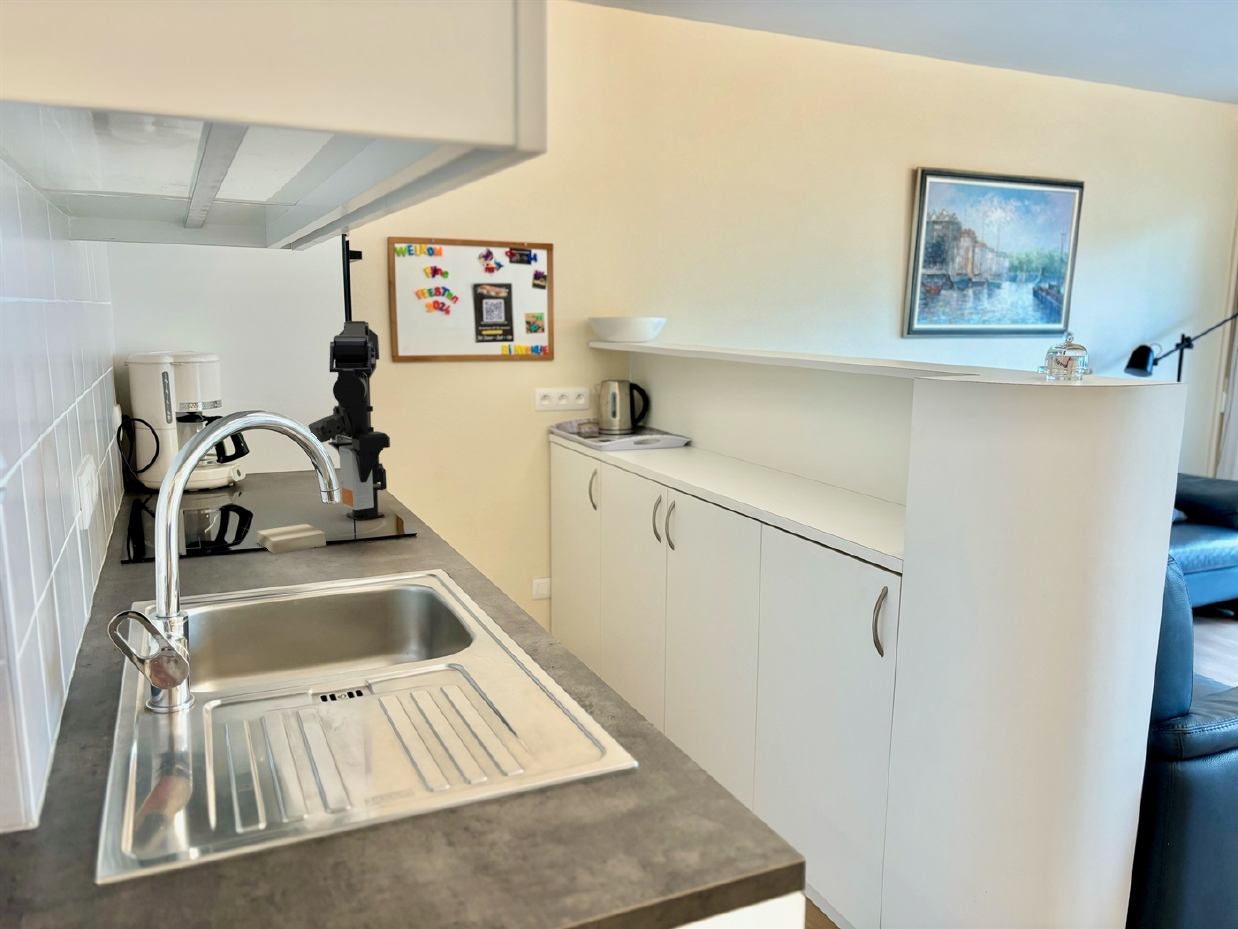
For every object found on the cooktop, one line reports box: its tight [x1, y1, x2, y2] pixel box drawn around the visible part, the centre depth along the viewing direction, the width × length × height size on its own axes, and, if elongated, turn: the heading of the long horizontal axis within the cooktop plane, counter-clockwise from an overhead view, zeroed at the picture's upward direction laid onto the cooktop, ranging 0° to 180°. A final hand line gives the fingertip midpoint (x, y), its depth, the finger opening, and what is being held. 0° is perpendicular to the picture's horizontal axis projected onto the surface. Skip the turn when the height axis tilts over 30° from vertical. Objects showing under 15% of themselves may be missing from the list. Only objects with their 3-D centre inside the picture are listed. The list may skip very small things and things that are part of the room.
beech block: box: [255, 523, 327, 555], centre depth 178 cm, size 10×10×3 cm
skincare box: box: [338, 445, 374, 510], centre depth 177 cm, size 6×4×12 cm
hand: (356, 479), depth 178 cm, fingers closed on skincare box, 6 cm apart
